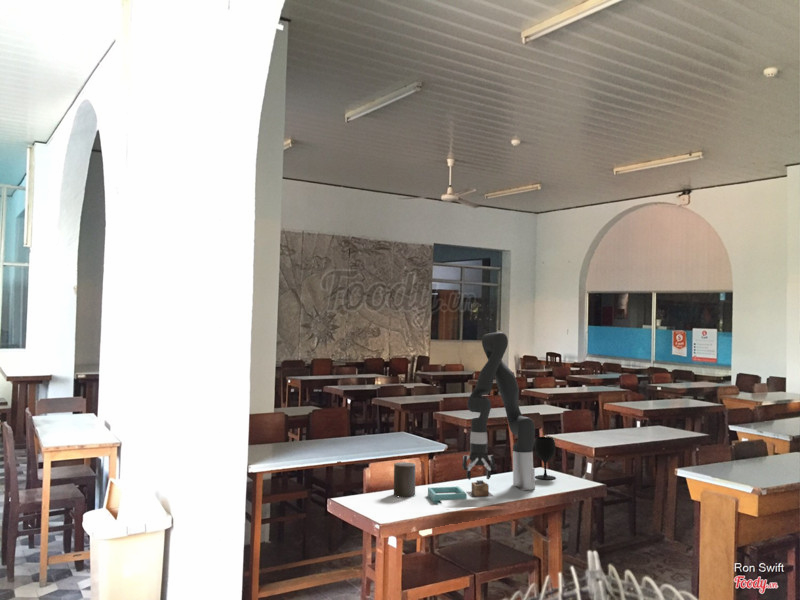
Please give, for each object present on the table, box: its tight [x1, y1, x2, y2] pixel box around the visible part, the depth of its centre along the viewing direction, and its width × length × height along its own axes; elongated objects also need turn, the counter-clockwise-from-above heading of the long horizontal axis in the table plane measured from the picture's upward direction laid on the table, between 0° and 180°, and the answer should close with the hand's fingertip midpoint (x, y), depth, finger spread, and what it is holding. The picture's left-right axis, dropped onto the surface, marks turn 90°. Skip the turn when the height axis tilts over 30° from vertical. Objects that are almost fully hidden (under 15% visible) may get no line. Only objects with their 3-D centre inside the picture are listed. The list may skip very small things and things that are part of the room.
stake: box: [466, 479, 494, 498], centre depth 281 cm, size 10×10×7 cm
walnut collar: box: [471, 481, 490, 496], centre depth 281 cm, size 6×6×4 cm
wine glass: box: [533, 436, 557, 481], centre depth 322 cm, size 10×10×20 cm
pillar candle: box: [393, 461, 417, 498], centre depth 286 cm, size 10×10×15 cm
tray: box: [427, 486, 468, 504], centre depth 279 cm, size 14×14×4 cm
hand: (478, 479), depth 282 cm, fingers open, 8 cm apart
